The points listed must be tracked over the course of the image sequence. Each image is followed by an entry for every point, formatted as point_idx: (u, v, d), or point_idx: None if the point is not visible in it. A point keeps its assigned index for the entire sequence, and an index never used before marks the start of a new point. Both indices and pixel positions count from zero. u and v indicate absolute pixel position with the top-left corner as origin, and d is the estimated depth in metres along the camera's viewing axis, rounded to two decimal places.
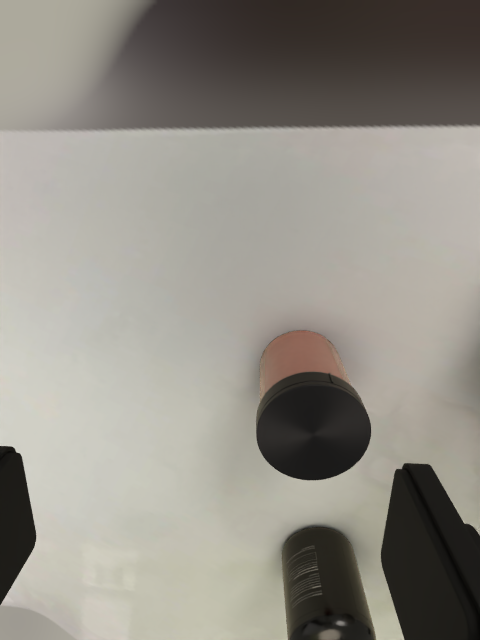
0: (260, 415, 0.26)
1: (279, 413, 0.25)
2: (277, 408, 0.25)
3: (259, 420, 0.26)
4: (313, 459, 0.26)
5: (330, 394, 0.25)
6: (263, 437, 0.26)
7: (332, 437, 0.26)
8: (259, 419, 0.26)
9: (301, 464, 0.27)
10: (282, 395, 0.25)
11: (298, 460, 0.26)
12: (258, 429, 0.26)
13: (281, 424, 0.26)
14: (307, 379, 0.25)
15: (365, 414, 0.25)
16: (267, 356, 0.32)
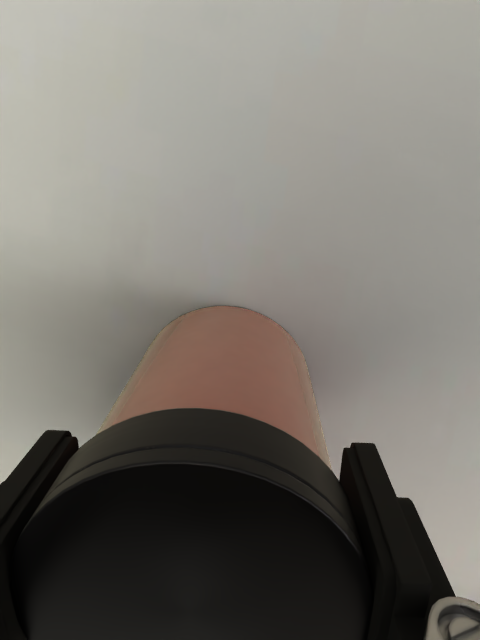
0: (200, 457, 0.07)
1: (233, 514, 0.07)
2: (251, 505, 0.07)
3: (182, 463, 0.07)
4: (102, 630, 0.08)
5: (345, 621, 0.08)
6: (119, 490, 0.07)
7: None
8: (185, 460, 0.07)
9: (69, 607, 0.08)
10: (307, 508, 0.07)
11: (79, 598, 0.08)
12: (145, 469, 0.07)
13: (193, 528, 0.07)
14: (357, 535, 0.08)
15: None
16: (251, 328, 0.14)
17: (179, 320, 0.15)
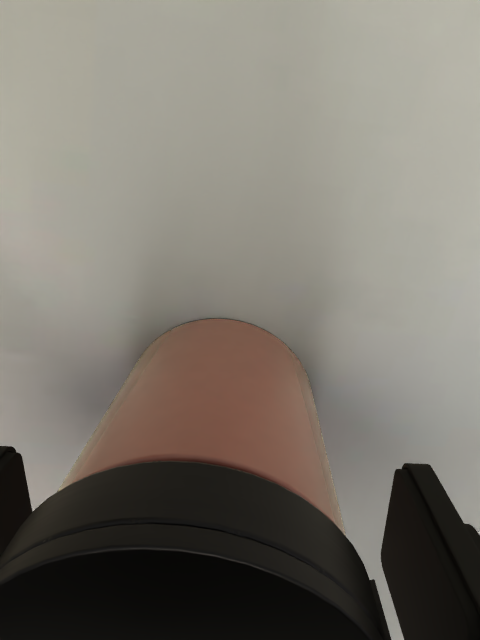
0: (97, 541, 0.05)
1: (163, 599, 0.06)
2: (178, 584, 0.05)
3: (74, 554, 0.05)
4: None
5: None
6: (19, 604, 0.06)
7: None
8: (78, 550, 0.05)
9: None
10: (248, 571, 0.05)
11: None
12: (35, 572, 0.05)
13: (124, 626, 0.06)
14: (346, 576, 0.06)
15: None
16: None
17: (301, 369, 0.14)
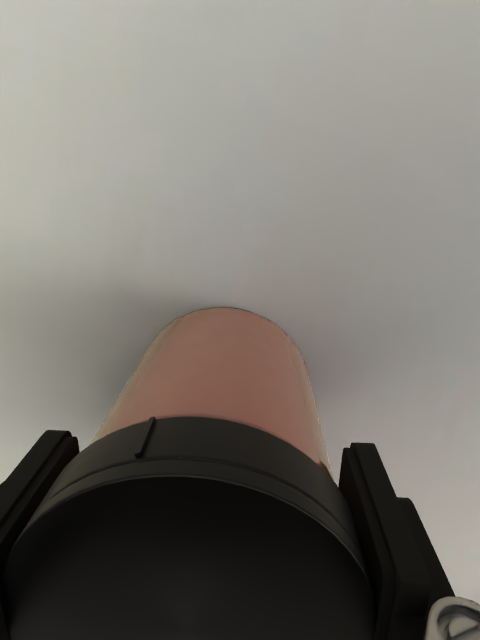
0: None
1: (47, 613, 0.08)
2: (30, 603, 0.08)
3: None
4: None
5: (139, 503, 0.07)
6: None
7: (246, 614, 0.08)
8: None
9: None
10: (10, 566, 0.07)
11: None
12: None
13: (79, 637, 0.08)
14: (70, 477, 0.08)
15: (296, 512, 0.07)
16: (251, 330, 0.13)
17: (178, 322, 0.15)
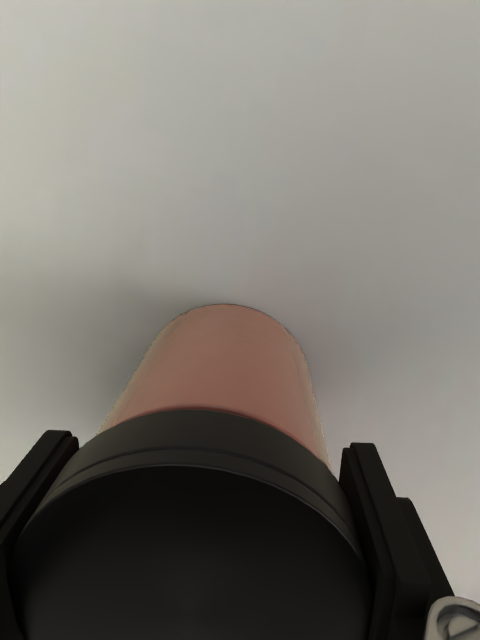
0: None
1: None
2: None
3: None
4: (256, 566, 0.07)
5: None
6: None
7: (149, 576, 0.08)
8: None
9: (300, 578, 0.08)
10: None
11: (294, 592, 0.08)
12: None
13: None
14: None
15: (16, 561, 0.08)
16: (251, 325, 0.14)
17: (180, 318, 0.15)
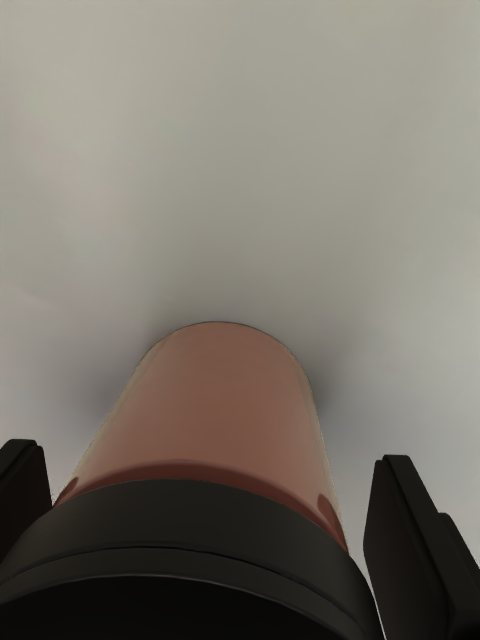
0: None
1: None
2: None
3: None
4: None
5: None
6: None
7: None
8: None
9: None
10: None
11: None
12: None
13: None
14: None
15: None
16: None
17: None
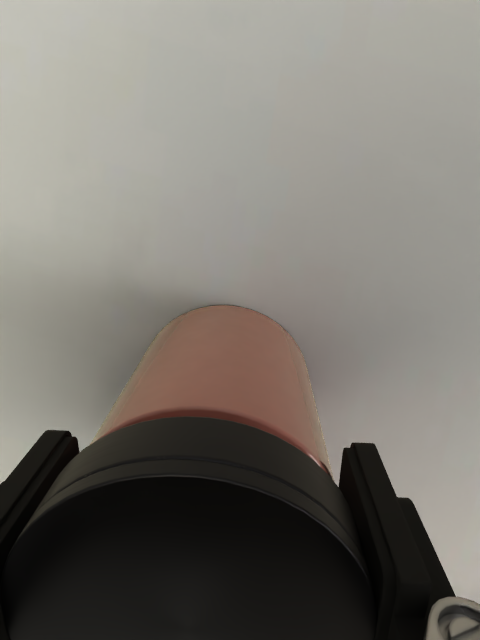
0: (348, 543, 0.07)
1: (321, 598, 0.07)
2: (341, 602, 0.07)
3: (338, 539, 0.07)
4: (96, 589, 0.07)
5: None
6: (270, 518, 0.07)
7: None
8: (340, 539, 0.07)
9: (94, 554, 0.07)
10: (371, 633, 0.08)
11: (115, 554, 0.07)
12: (310, 521, 0.07)
13: (280, 583, 0.07)
14: None
15: None
16: (250, 327, 0.14)
17: (178, 320, 0.15)
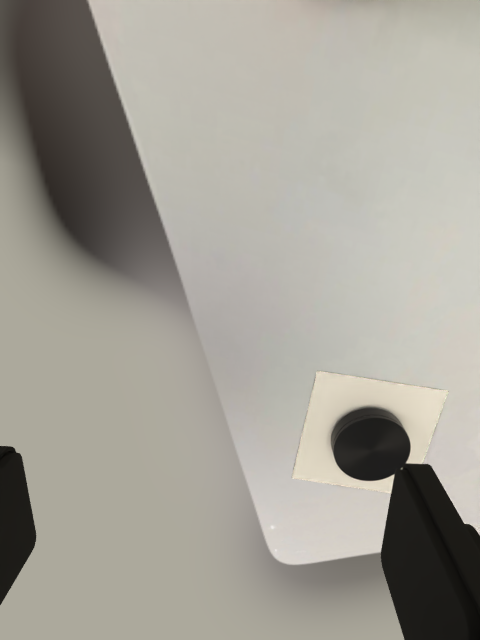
0: (405, 431, 0.38)
1: (399, 442, 0.38)
2: (403, 443, 0.38)
3: (404, 430, 0.38)
4: (355, 441, 0.38)
5: (389, 471, 0.39)
6: (391, 425, 0.38)
7: (362, 458, 0.39)
8: (404, 430, 0.38)
9: (357, 433, 0.38)
10: (409, 450, 0.38)
11: (361, 433, 0.38)
12: (399, 426, 0.38)
13: (392, 439, 0.38)
14: None
15: (363, 479, 0.40)
16: None
17: None
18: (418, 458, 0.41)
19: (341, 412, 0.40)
